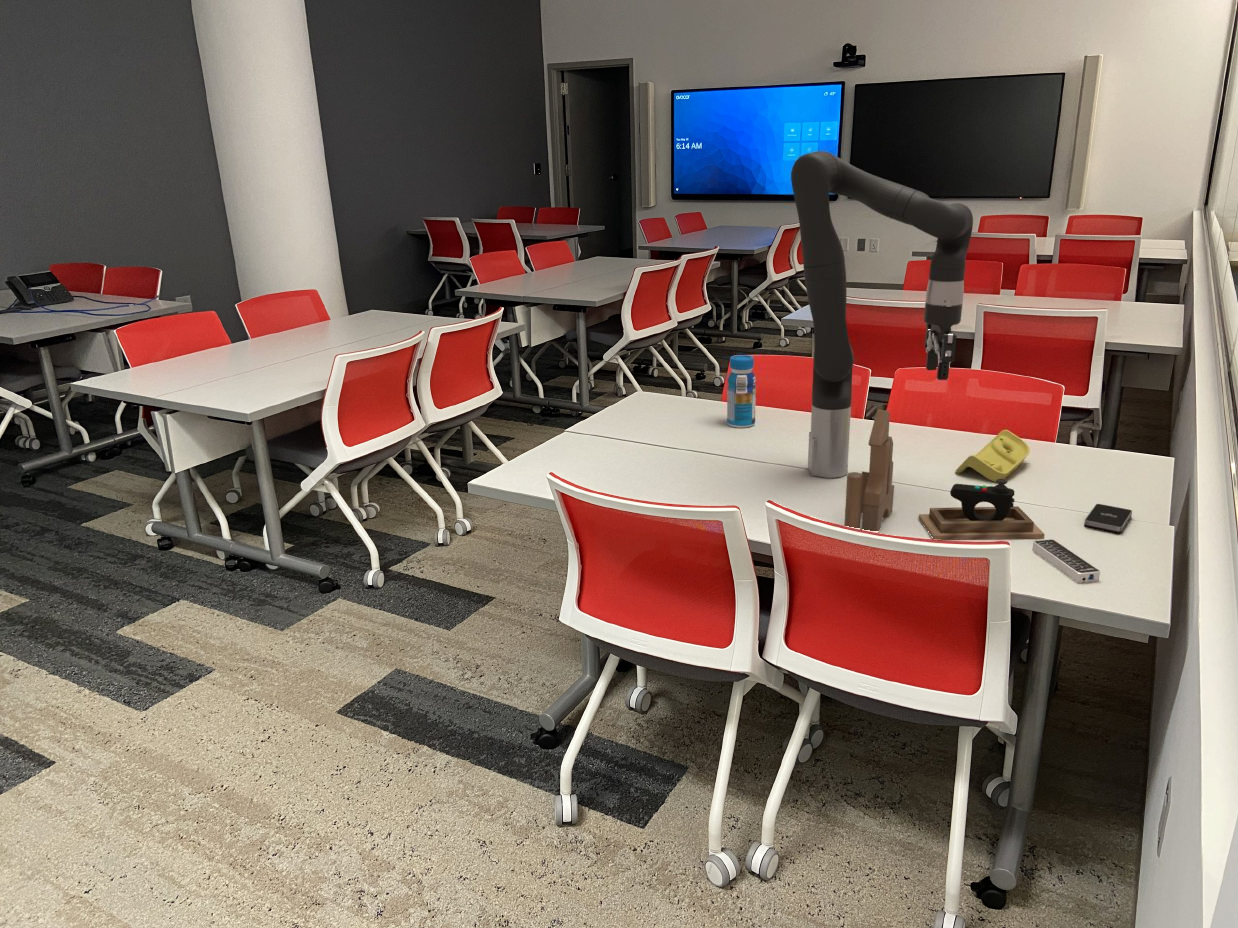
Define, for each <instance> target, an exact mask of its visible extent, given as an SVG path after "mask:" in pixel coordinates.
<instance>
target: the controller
mask: <svg viewBox="0 0 1238 928" xmlns="http://www.w3.org/2000/svg"><path fill="white" fill-rule="evenodd" d="M995 483H997V484H995V485H994V486H992V485H990V486H987V485H975V484H965V483H964V484H963V483H954V484H953V485H952V486H951V489H950V491H949V494H950V496H951V497H952V499H955V500H957V501H959V502H960V503H961V507H962V510H963V513H964V515H965V516H966V517H967V518H968V519H969V520H970V521H1002V520H1004V519H1005V518H1006V516H1007V515H1008V513H1009V511H1010V509H1011V507H1014V503H1015V498H1013V497H1015V490H1014V488H1013V489H1012V488H1009V487H1008V486H1006V484H1007V483H1008V480H1006V478H1005V479H997V480H996V482H995ZM980 503H989V504H991V505H992V506H993V507H995V508H996V509H995V513H994V514H993V515H991V516H988V517H983V516H980V515H978V514H977V513H976V512H975V510H974V509H975V507H977V505H979V504H980Z"/></svg>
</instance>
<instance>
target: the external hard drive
mask: <svg viewBox="0 0 1238 928" xmlns="http://www.w3.org/2000/svg"><path fill="white" fill-rule="evenodd" d="M1132 515H1133V510H1131V509H1129V508H1128V509H1127V508H1123V507H1118V506H1114V505H1113V506H1112V505H1108V504H1107V505H1106V504H1102V503H1095V505H1094V507H1093V508H1092V509H1091V510H1090V512H1089V513H1088V514H1087V516H1086V517H1085V518H1084V522H1083V523H1084V525H1083V526H1084V528H1086V529H1090V530H1095V531H1098V532H1103V533H1109V534H1114V535H1121V534H1122V533H1123V531H1124V529H1125V528H1126V526H1127V525H1128V523H1129V522H1130V520H1131V519H1132Z"/></svg>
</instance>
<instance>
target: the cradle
mask: <svg viewBox="0 0 1238 928" xmlns="http://www.w3.org/2000/svg"><path fill="white" fill-rule="evenodd" d="M995 509H996V508H995V507H994V506H975V509H974V510H975V512H976V513H977V514H978V515H980V516H983V517H988V516H991V515H993V514H994V513H995ZM918 518H919V519H918V520H919V522H920V521H921V522H922V523H921V522H920V523H921V525H922V524H923V525H924V526H925V527H924V526H923V525H922V526H923V527H924V529H925V528H926V529H927V530H926V529H925V530H926V532H927V531H929V533H930V534H931V536H932V537H933V538H931V539H932V540H933V539H941V540H940V541H953V540H954V541H956V540H957V541H959V540H960V539H962V540H963V539H964V540H970V541H971V540H1025V539H1027V540H1030V539H1031V540H1033V539H1034V540H1036V539H1043V540H1045V533H1044V532H1043V531H1042V529H1040V528H1039V527H1038V525H1037V524H1036V523H1035V521H1033V519H1031V518H1030V516H1028V514H1026V512H1025V511H1024V510H1022V509H1021V507H1020V506H1013V507H1011V509H1010V511H1009V513H1008V515H1007V516H1006V518H1005V519H1004V520H1002V521H970V520H969V519H968V518H967V517H966V516H965V515H964V513H963V510H962V506H961V507H959V506H958V507H957V506H956V507H954V506H953V507H929V513H925V514H923V513H922V514H921V513H920V514H918ZM929 533H928V534H929ZM931 536H930V537H931ZM960 541H961V540H960Z"/></svg>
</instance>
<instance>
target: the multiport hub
mask: <svg viewBox="0 0 1238 928" xmlns="http://www.w3.org/2000/svg"><path fill="white" fill-rule="evenodd" d="M1031 551H1033V553H1035V554H1036V555H1038V556H1039V557H1041V558H1042V559H1043V560H1045V562H1048V563H1049V564H1050V565H1051V566H1053V567H1054V568H1056V569H1057V570H1059V571H1060V572H1062V573H1063V574H1064V575H1066V576H1067V577H1069V578H1070V579H1072V580H1073V581H1074V582H1075V583H1078V584H1082V583H1093V582H1099V581H1100V576H1101V570H1100V569H1098V568H1096V567H1095V566H1094V565H1092V564H1091V563H1089V562H1088V561H1086V560H1085V559H1083V558H1082V557H1080V556H1079V555H1078V554H1075V553H1074V552H1073V551H1071V550H1070V549H1068V548H1067V547H1065V546H1064V545H1062V544H1061V543H1059V542H1058V541H1057V540H1055V539H1053V538H1052V539H1043V540H1034V541H1033V543H1032V550H1031Z"/></svg>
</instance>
